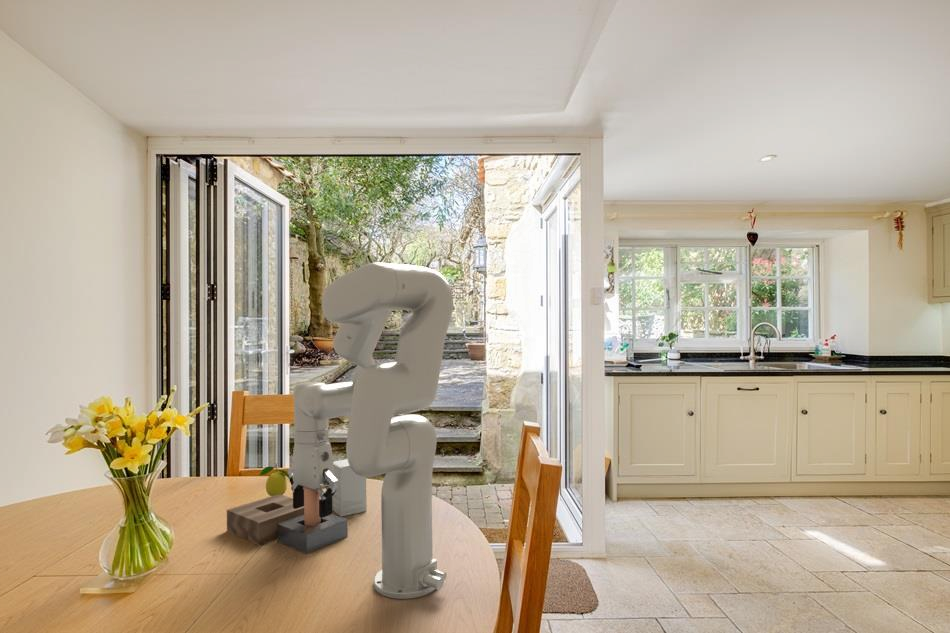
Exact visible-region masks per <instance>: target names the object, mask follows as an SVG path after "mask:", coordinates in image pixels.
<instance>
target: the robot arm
mask: <svg viewBox="0 0 950 633" xmlns="http://www.w3.org/2000/svg"><path fill="white" fill-rule="evenodd" d="M321 309H322V313H323V315H324V317H325V318H326V320H328V322H331V323H333V324H339V327H338V329H337V332H336V334H335V337H334V338H333V341H332V347H333V349H334V351H335V353H336V354H337V355H339V357H341V358H342V359H344V360H345V361H347V362H349V363H352V364H354V365H356V368H355V372H354V373H353V376H352V377H351V380H350V381H342V382H341V381H340V382H335V383H334V382H332V383H325V382H323V381H308V382H305V381H304V382H300V383H298V384H296V385H295V386H294V389H293V422H294V423H293V424H294V425H293V427H294V428H293V432H294V434H293V435H294V436H293V438H294V439H293V440H294V445H293V450H292V451H293V452H292V466H291V467H290V468H288V469H287V473H288V475H289V478H290V479H289V478H288V479H289V483H290V484H291V488H290V489H291V492H292V498H293V508H294V509H297V508H300V507H303V506H304V487H307V488H310V489H314V490H317V491H318V493H319V495H320V497H321V499H320V500H319V517H320V518H323V517H326V516H329V515H331V514H333V510H332V497H334V494H335V492H336V489H337V486H338V480H337V479H336V478H335V477H334V463H333V462H334V455H333V450H332V449H333V448H332V445H331V442H330V441H329V439H330V438H329V437H330V436H329V420H330V419H335V418H339V417H345V416H349V419H348V426H347V434H346V443H345V447H346V448H345V452H346V454H345V455H346V459H348V463H349V465H350V467H351V469H352V470H353V471H354V472H355V473H356V474H357V475H359V476H362V477H366V478H372V477H377V476H381V475H384V478H383V481H382V482H383V483H382V487H381V493H380V494H381V500H380V501H381V504H380V506H381V507H380V508H381V510H380V511H381V565H382V566H381V570H379V571H377V573H376V574H375V575H374V577H373V587H374V590H375V591H376V592H377V593H379V594H380V595H381V596H383V597H387V598H392V599H398V600H409V599H415V598H419V597H423V596H426V595H428V594H430V593H432V592H434V591H435V590H438V591H440V590H441V589H443V586H444V584H445V581H446V579H447V572H444V571H442V570H439V569H438V560H437V559H436V558H433V556H434V555H433V470H434V462H435V457H436V451H437V440H438V439H437V433H436V432H437V431H436V429H435V427H434V425H433V423H432V422H431V421H430V420H429V419H428V418H426V417H425V416H423V415H420V414H415V413H416V412H419V411H423V410H425V409H427V408H429V407H431V406H432V405H433V403H434V401H435V399H436V396H437V390H438V388H439V387H438V386H439V379H440V374H441V367H442V362H443V361H442V360H443V355H444V347H445V342H446V337H447V332H448V329H449V327H450V324H451V319H452V316H453V315H452V314H453V309H454V297H453V291H452V288H451V286H450V284H449V282H448V281H447V279H446V277H445V276H443V275H442V274H441V272H438V271H437V270H435V269H431V268H430V267H427V266H421V265H414V264H399V263H389V262H370V263H366V264H364V265H361V266H359V267H357V268H355V269H353V270H351V271H349V272H347V273H346V274H343V275H342V276H340V277H337V278H336V279H334V280H333V281H331V283H330V284H329V285H328V286H327V288H325V291H324V293H323V296H322V300H321ZM392 311H411V313H412V314H411V315H410V317H409V318H408V319H407V320H406V321H405V323H404V325H403V327H402V329H401V331H400V333H399V336H398V339H397V347H396V352H395V356H394V359H393V360H392V361H391V362H380V363H376V361H375V358H374V357H373V353H374V351H375V350H376V347H377V344H378V343H379V340H380V338H381V335H382V334H383V331H384V328H385V326H386V324H387V321H388V320H389V317H390V315H391V312H392ZM413 413H414V414H413ZM324 489H325V492H324Z"/></svg>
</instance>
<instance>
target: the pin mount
mask: <svg viewBox="0 0 950 633" xmlns="http://www.w3.org/2000/svg"><path fill="white" fill-rule="evenodd" d="M348 529H349V528H348V518H345V517H343V516H339V515H335V514H333V513H332V514H331V515H329V516H326V517H323V518H321V524H318V525H315V526H313V527H307V526H305V525H304V515H301V516H298V517H295V518H292V519H289V520H287V521H284V522H281V523H278V524H277V539H276V540H277V542H278V543H280V544H282V545H285V546H287V547H289V548H292V549H294V550H297V551H299V552H301V553H304V554H307V555H308V554H310V553H312V552H315V551H317V550H319V549H322V548H325V547H326V546H329V545H331V544H333V543H336V542H339V541H340V540H343V539H345V538H348V536H349V534H348Z"/></svg>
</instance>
